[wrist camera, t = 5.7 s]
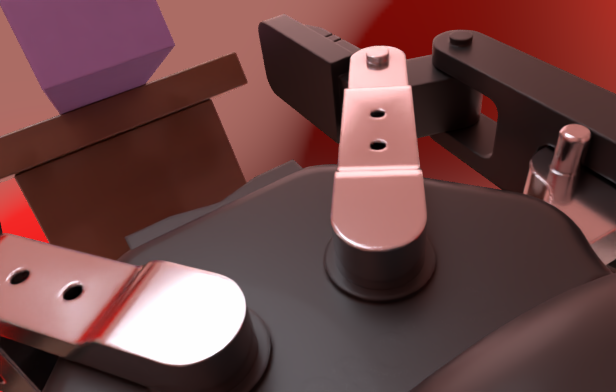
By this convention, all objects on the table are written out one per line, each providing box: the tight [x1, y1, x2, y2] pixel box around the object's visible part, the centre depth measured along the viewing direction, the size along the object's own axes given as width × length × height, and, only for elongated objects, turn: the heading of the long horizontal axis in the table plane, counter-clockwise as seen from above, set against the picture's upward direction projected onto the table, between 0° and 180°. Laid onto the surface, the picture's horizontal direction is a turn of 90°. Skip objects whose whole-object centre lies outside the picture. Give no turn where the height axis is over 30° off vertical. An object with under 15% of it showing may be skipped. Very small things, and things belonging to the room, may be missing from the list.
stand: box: [0, 52, 247, 260], centre depth 29 cm, size 10×12×32 cm
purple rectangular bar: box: [0, 0, 175, 115], centre depth 22 cm, size 19×4×2 cm, turn 25°
